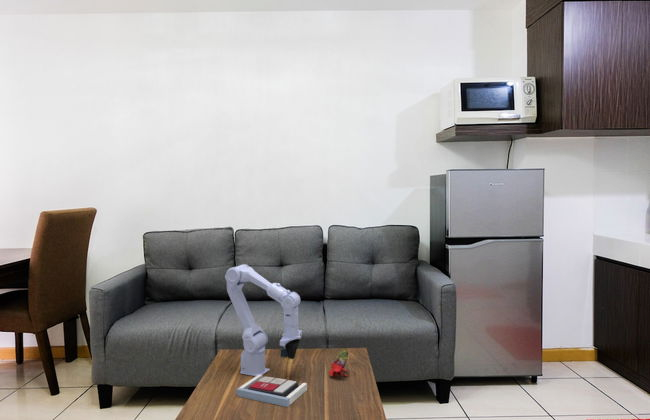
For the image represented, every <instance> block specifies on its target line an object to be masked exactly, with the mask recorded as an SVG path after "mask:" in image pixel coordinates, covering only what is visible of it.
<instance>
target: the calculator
mask: <svg viewBox="0 0 650 420" xmlns="http://www.w3.org/2000/svg"><path fill="white" fill-rule="evenodd" d="M298 387H299V382H298V381H295V380H289V379H288V380H287V379H285V378H277V377H272V376H262V379H260V380H258V382H255V383H254V384H252V385H251V386H250V387H249V388H248V390H253V391H258V392H263V393H268V394H272V395H277V396H282V397H287V396H288V395H289V394H290V393H292V392H293V391H294V390H295V389H296V388H298Z"/></svg>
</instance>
